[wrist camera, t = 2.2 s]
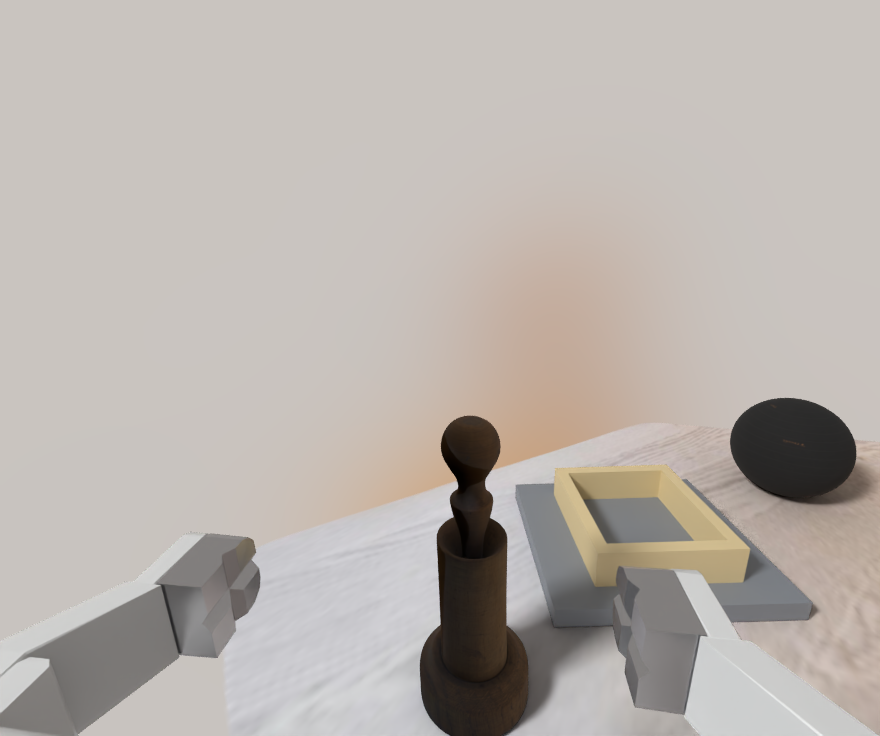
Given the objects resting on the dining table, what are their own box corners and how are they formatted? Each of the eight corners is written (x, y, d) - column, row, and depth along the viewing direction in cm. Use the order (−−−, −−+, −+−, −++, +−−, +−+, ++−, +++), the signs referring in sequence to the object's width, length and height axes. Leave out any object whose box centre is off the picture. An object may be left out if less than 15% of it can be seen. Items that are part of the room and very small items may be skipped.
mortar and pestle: (482, 622, 31) (480, 389, 26) (550, 697, 26) (566, 424, 21) (402, 675, 28) (382, 416, 22) (462, 772, 23) (455, 467, 17)
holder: (684, 491, 46) (690, 453, 45) (808, 619, 31) (822, 567, 29) (515, 497, 46) (516, 459, 45) (553, 627, 31) (557, 575, 29)
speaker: (763, 519, 41) (784, 423, 38) (704, 465, 51) (718, 385, 48) (871, 517, 41) (901, 420, 38) (791, 464, 50) (810, 383, 48)
